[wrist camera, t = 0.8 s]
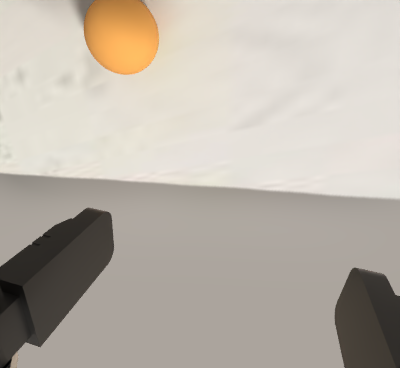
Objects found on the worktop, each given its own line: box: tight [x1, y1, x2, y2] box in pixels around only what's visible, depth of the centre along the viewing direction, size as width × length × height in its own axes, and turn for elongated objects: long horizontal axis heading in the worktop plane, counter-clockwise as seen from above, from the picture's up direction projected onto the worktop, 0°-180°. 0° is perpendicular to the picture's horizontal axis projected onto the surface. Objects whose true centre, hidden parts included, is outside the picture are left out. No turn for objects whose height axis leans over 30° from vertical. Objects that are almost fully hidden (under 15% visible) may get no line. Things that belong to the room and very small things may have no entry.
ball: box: [84, 0, 159, 75], centre depth 23 cm, size 6×6×6 cm
